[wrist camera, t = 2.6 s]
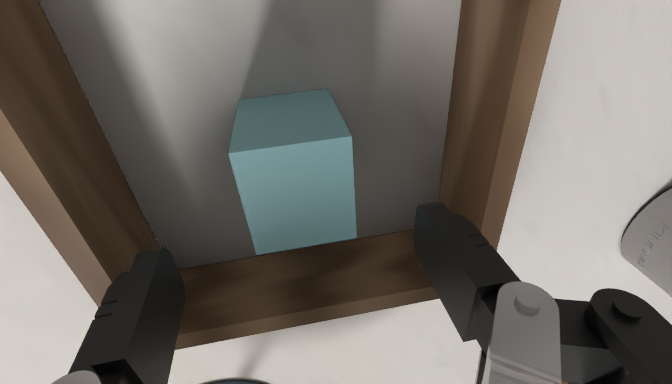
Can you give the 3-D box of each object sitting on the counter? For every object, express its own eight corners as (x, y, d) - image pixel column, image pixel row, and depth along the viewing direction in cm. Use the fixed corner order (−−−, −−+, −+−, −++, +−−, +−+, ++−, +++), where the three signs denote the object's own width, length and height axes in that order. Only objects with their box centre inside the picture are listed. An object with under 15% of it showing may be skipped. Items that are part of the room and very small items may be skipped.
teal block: (327, 88, 18) (351, 136, 13) (334, 172, 20) (356, 237, 15) (238, 99, 17) (227, 153, 12) (258, 183, 20) (256, 255, 15)
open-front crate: (493, -57, 15) (578, -65, 11) (449, 235, 25) (486, 289, 21) (-4, -14, 13) (-125, -4, 9) (158, 287, 23) (134, 357, 19)
